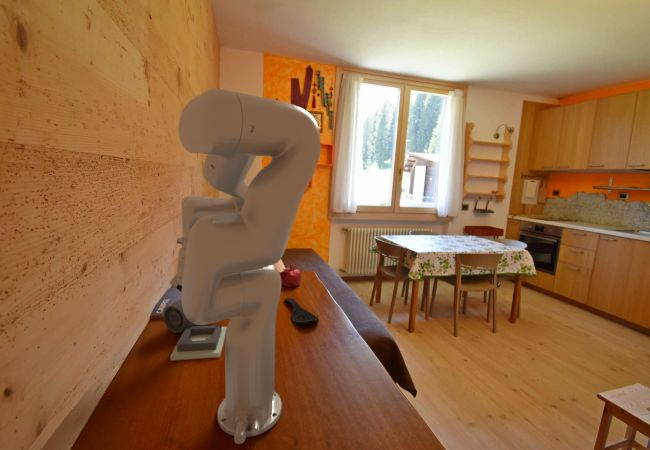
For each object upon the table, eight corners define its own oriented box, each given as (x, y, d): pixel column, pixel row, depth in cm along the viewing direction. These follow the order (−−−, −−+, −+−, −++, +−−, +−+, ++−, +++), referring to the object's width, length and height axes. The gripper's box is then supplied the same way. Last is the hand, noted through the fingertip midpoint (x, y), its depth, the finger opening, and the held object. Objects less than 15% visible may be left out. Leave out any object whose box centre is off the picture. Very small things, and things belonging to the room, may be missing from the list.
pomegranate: (301, 281, 139) (302, 261, 137) (301, 288, 129) (302, 267, 128) (279, 280, 138) (280, 260, 137) (277, 288, 128) (278, 266, 127)
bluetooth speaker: (218, 306, 110) (213, 279, 109) (238, 307, 107) (234, 279, 106) (164, 336, 89) (158, 303, 88) (188, 338, 86) (182, 304, 85)
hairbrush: (296, 291, 119) (324, 315, 97) (296, 300, 120) (323, 326, 97) (276, 294, 116) (299, 320, 93) (276, 303, 116) (299, 331, 94)
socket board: (219, 357, 79) (219, 345, 79) (170, 360, 77) (170, 348, 76) (227, 330, 93) (226, 320, 92) (185, 332, 90) (185, 322, 90)
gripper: (158, 246, 75) (161, 314, 78) (229, 246, 78) (230, 311, 81) (168, 239, 82) (171, 302, 85) (233, 239, 85) (233, 300, 88)
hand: (199, 306), depth 83 cm, fingers closed on keyed plug, 4 cm apart
